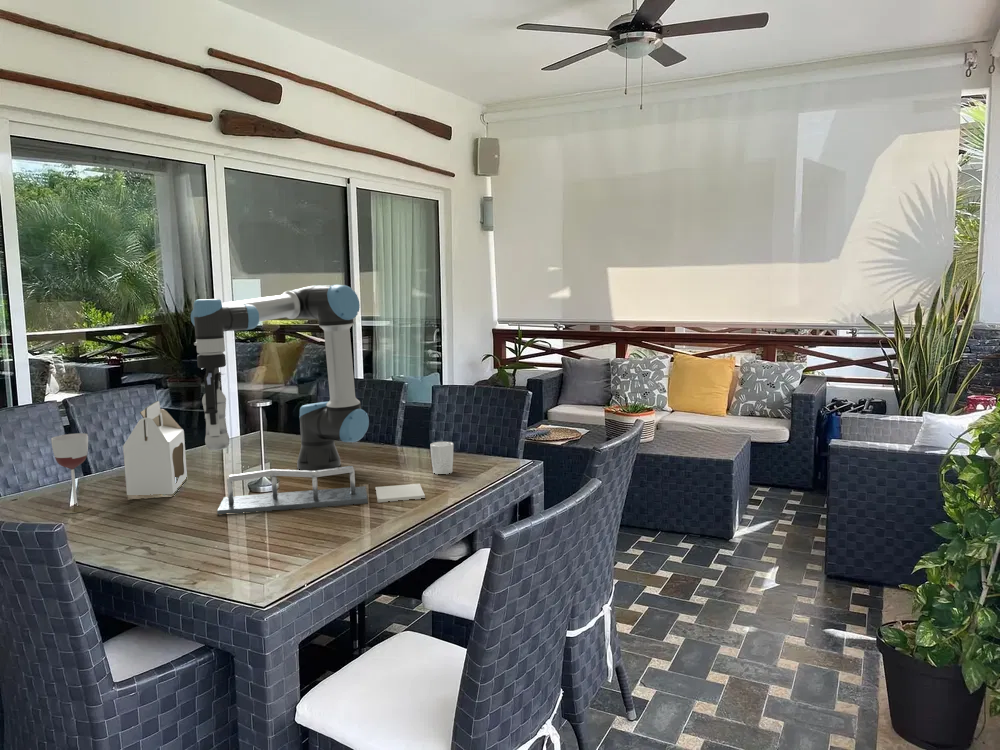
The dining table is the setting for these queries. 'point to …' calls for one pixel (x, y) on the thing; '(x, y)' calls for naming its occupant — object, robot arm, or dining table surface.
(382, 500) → the pad
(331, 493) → the grey platform with railing
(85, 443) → the wineglass
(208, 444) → the plastic bottle
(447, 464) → the white cup
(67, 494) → the dining table surface
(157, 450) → the gable box
